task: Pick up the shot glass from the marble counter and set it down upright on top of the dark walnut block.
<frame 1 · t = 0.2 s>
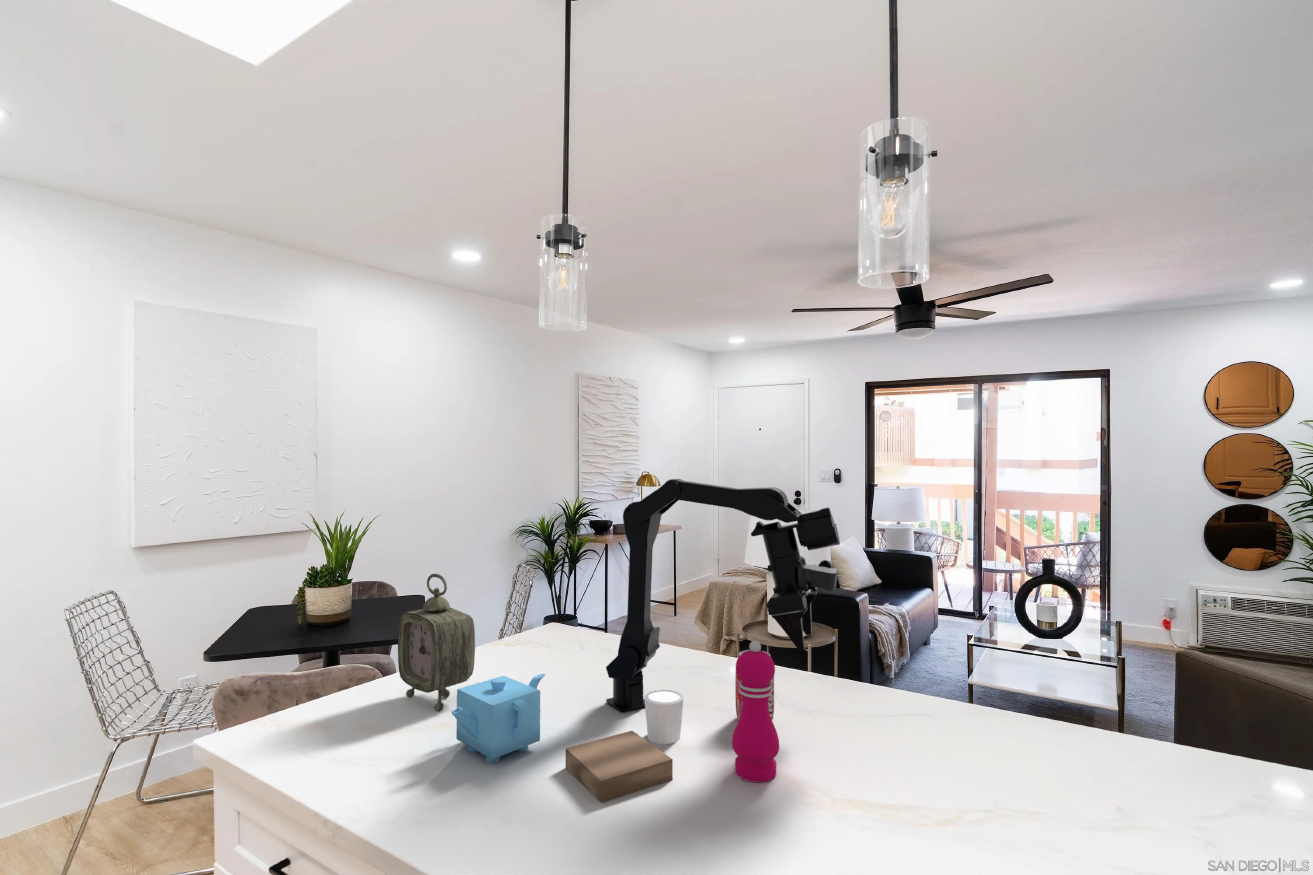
hand: (805, 641, 115), 15 cm above the counter, tool pointing down, fingers open, 9 cm apart
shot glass: (664, 738, 111), on the counter
soda can: (754, 721, 118), on the counter
teapot: (502, 748, 107), on the counter
pepper mill: (755, 773, 99), on the counter
tabletop clock: (436, 701, 127), on the counter
walnut base block: (618, 773, 98), on the counter
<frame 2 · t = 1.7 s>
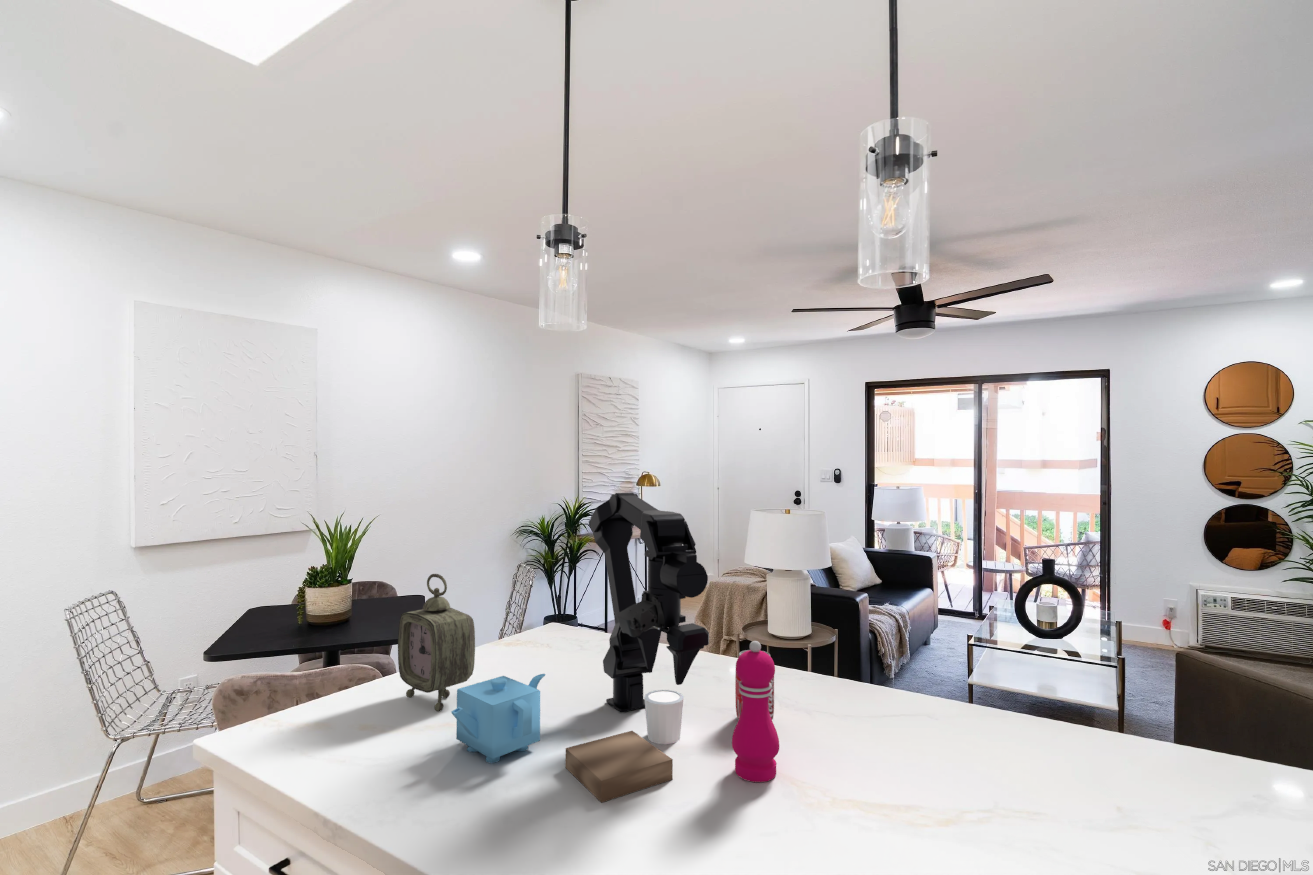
hand: (664, 676, 111), 10 cm above the counter, tool pointing down, fingers open, 9 cm apart
nothing on the counter moved.
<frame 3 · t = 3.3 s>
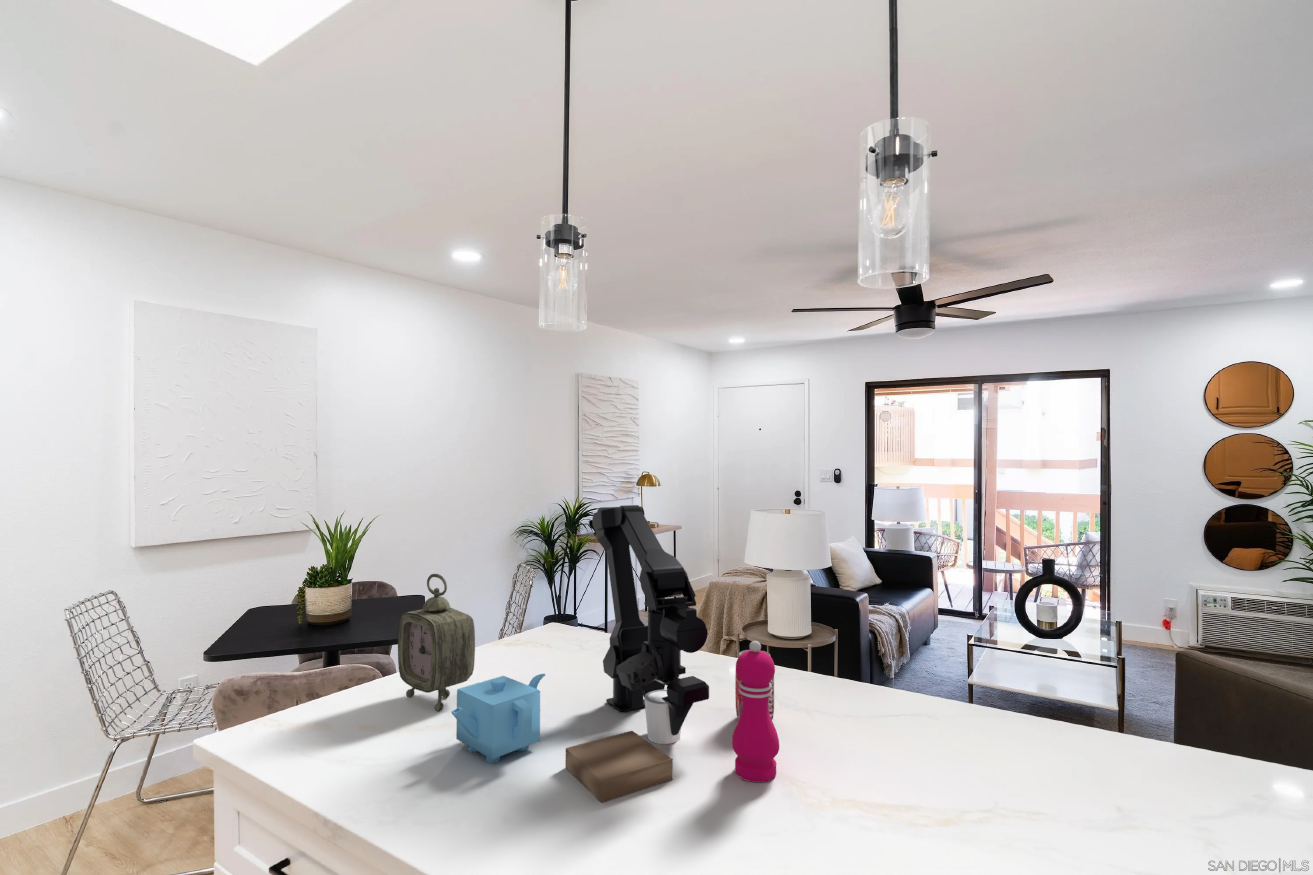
hand: (664, 727, 111), 2 cm above the counter, tool pointing down, fingers closed on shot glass, 6 cm apart
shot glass: (664, 737, 111), on the counter, touching gripper
everything else where it was.
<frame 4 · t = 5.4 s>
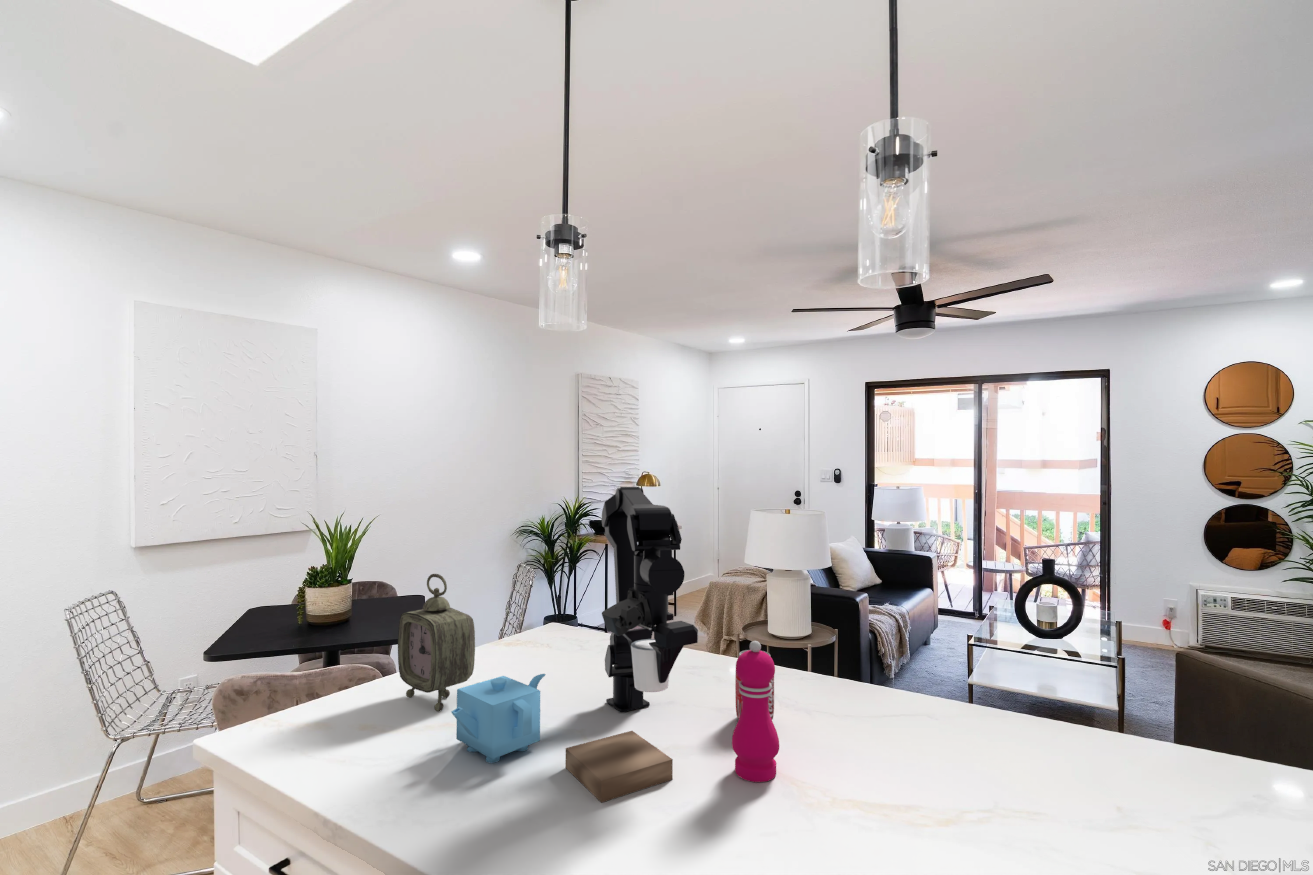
hand: (651, 676, 107), 12 cm above the counter, tool pointing down, fingers closed on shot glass, 6 cm apart
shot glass: (651, 687, 107), point 10 cm above the counter, touching gripper
everything else where it was.
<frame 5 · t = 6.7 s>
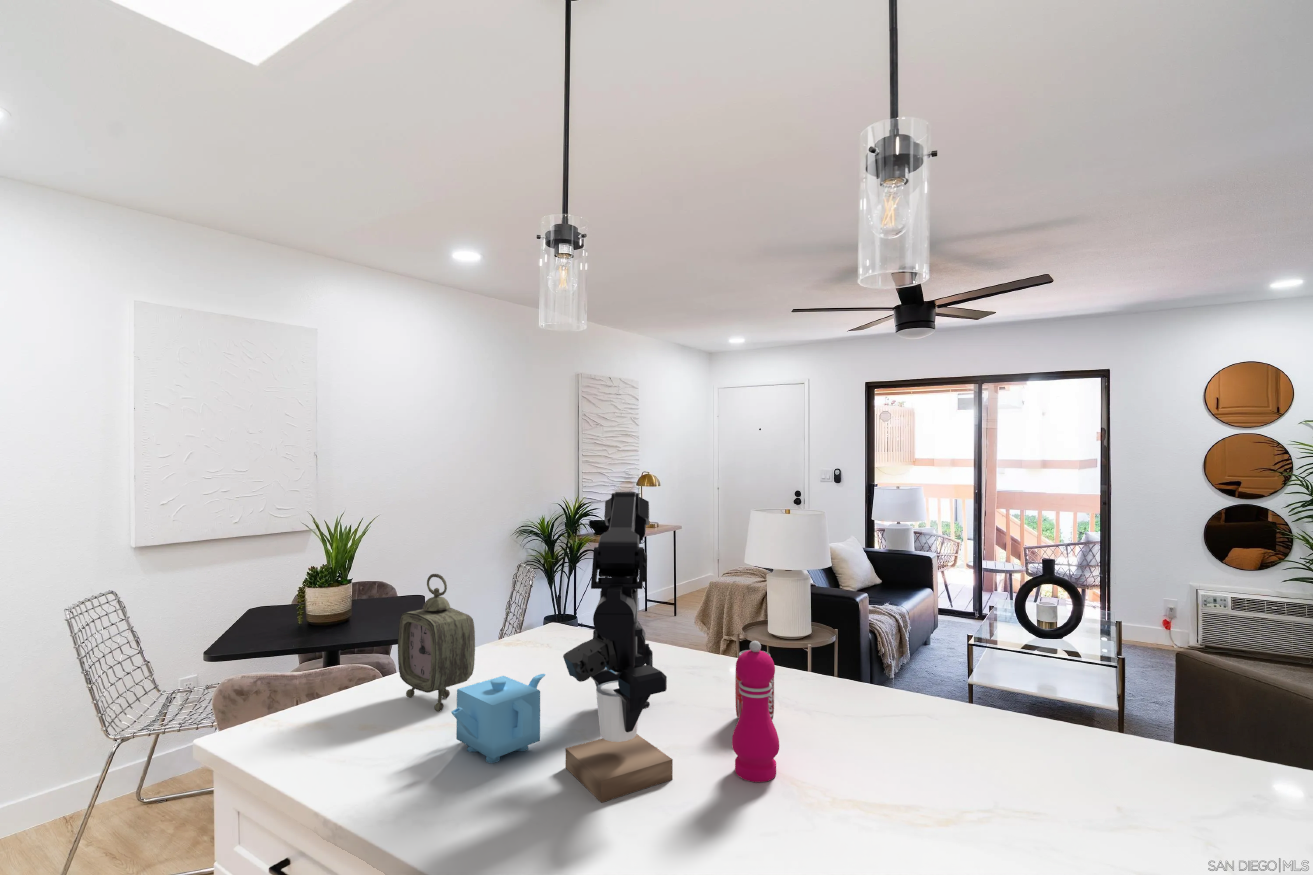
hand: (618, 723, 98), 7 cm above the counter, tool pointing down, fingers closed on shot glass, 6 cm apart
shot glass: (618, 734, 98), point 6 cm above the counter, touching gripper
everything else where it was.
when the fingers open (6 cm above the counter, at t = 7.9 s): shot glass drops 1 cm, resting on walnut base block.
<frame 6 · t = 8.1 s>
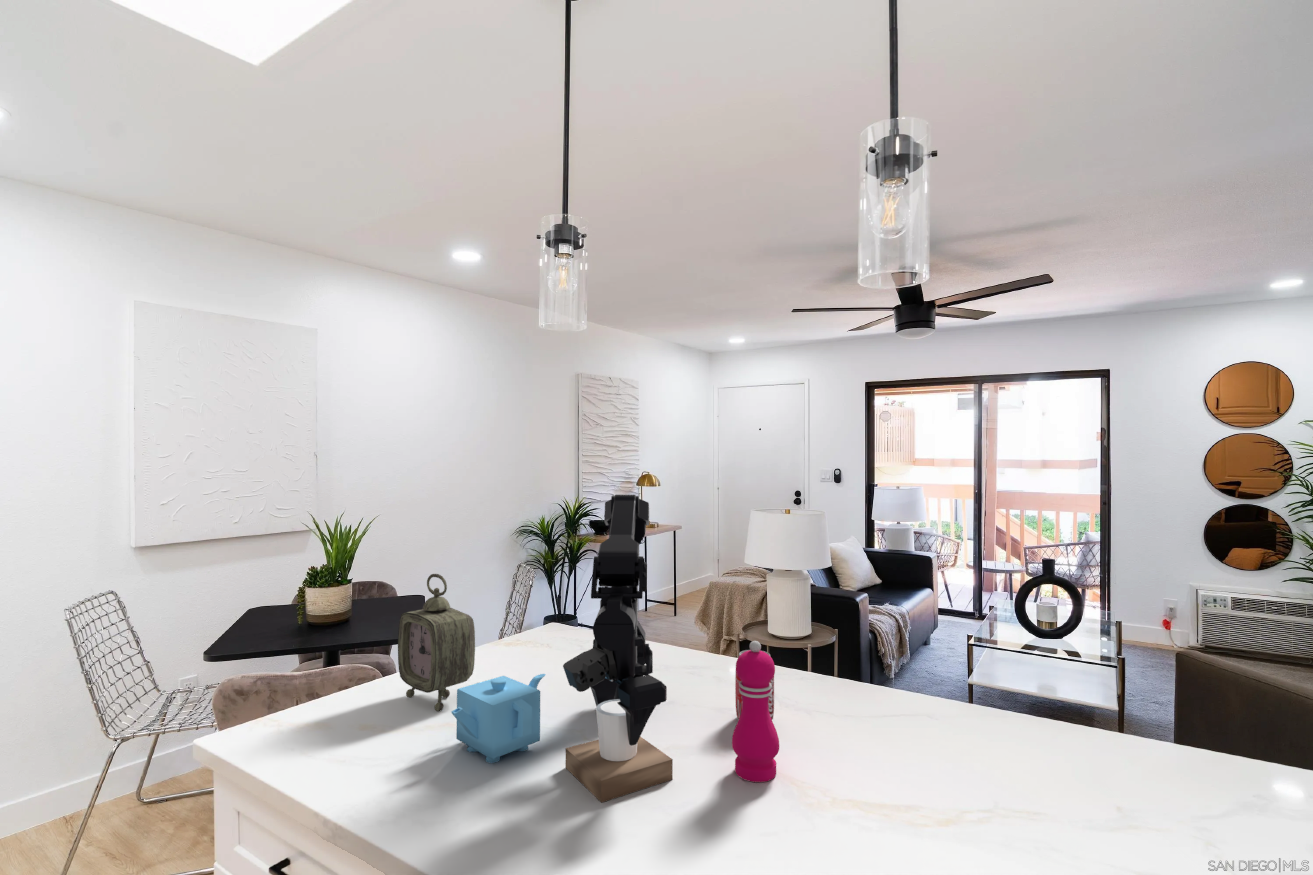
hand: (618, 733, 98), 6 cm above the counter, tool pointing down, fingers open, 9 cm apart
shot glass: (618, 754, 98), point 3 cm above the counter, touching walnut base block
everything else where it was.
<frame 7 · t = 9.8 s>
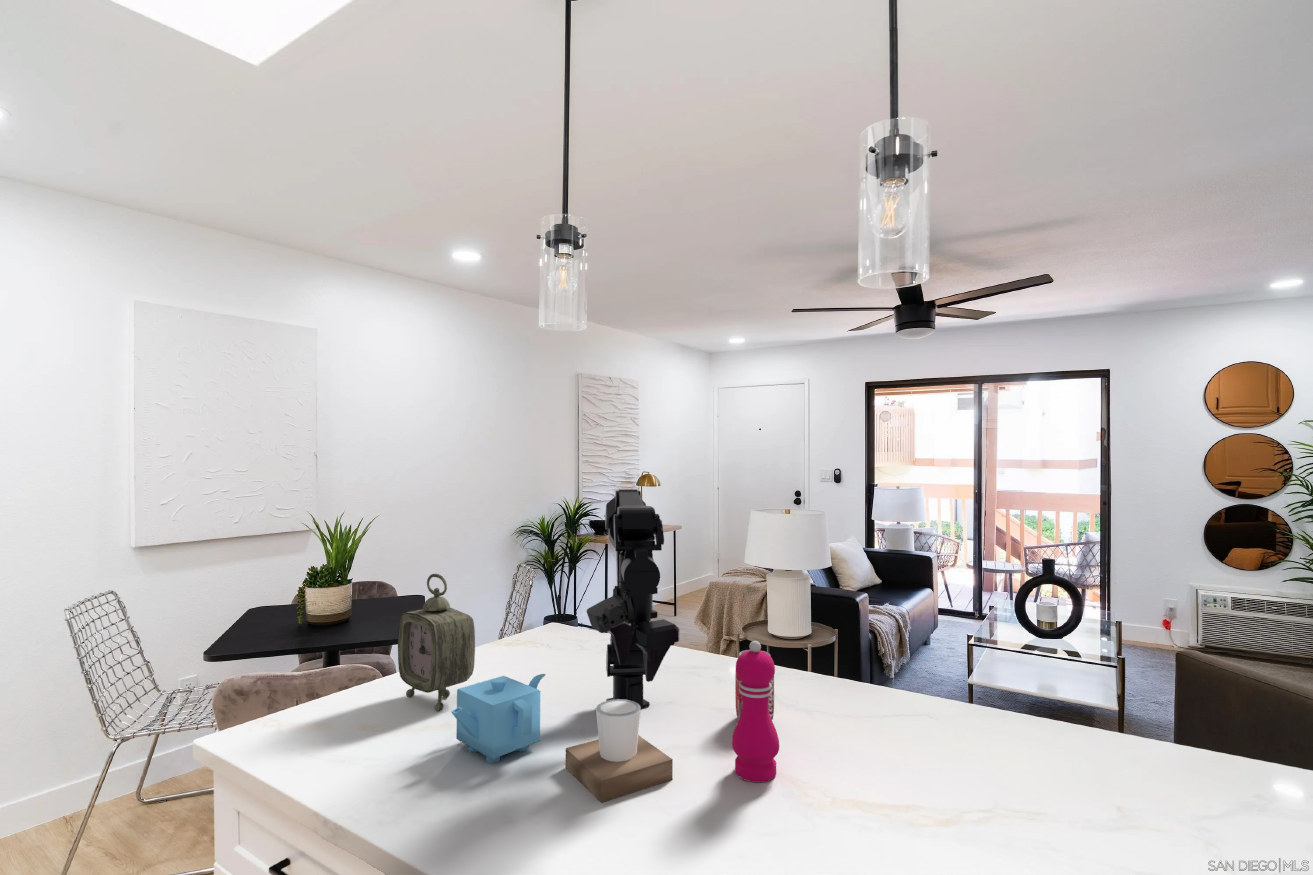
hand: (635, 672, 110), 12 cm above the counter, tool pointing down, fingers open, 9 cm apart
nothing on the counter moved.
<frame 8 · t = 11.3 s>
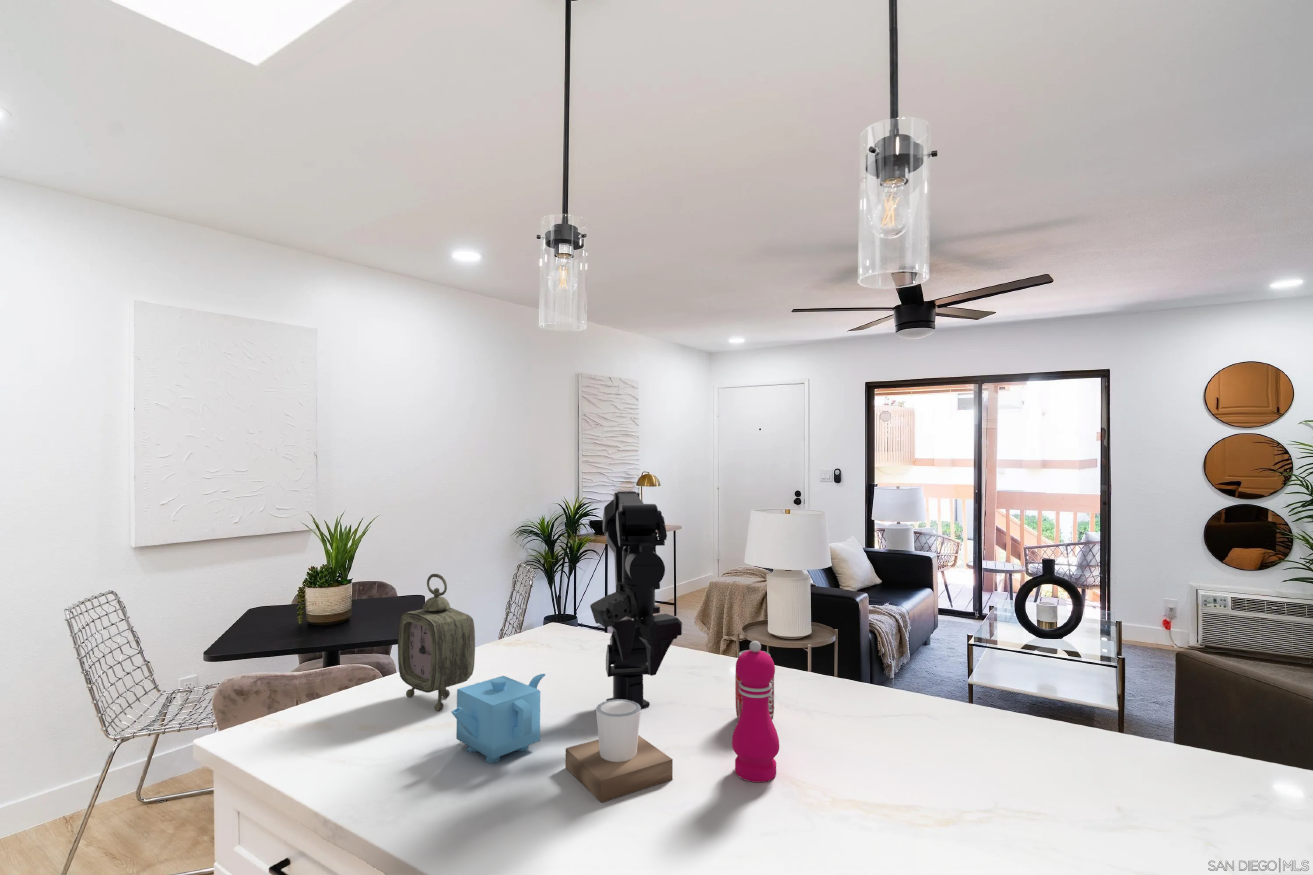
hand: (638, 667, 111), 12 cm above the counter, tool pointing down, fingers open, 9 cm apart
nothing on the counter moved.
at the end: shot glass inside the target area on the walnut base block (0.1 cm from its centre), point 2.8 cm above the walnut base block's base; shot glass tilted 0°; the gripper is holding nothing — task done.
